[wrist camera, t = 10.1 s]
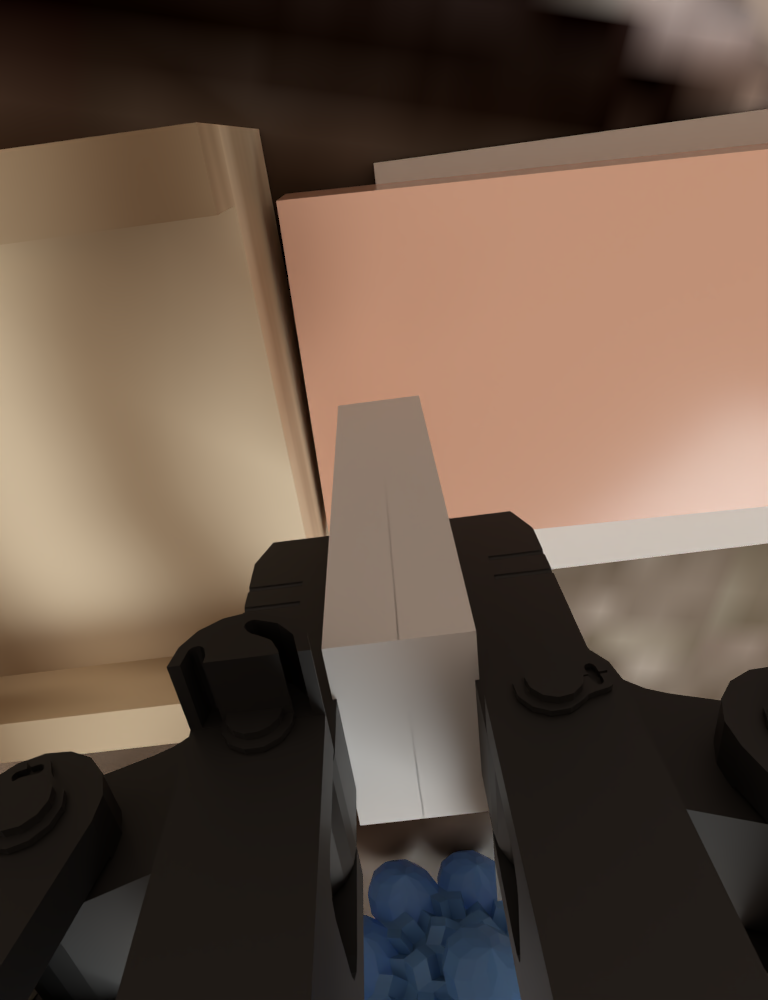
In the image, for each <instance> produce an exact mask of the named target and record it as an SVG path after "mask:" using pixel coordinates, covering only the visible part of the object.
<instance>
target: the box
mask: <svg viewBox="0 0 768 1000" xmlns="http://www.w3.org/2000/svg"><path fill="white" fill-rule="evenodd" d="M323 536H329V531H328V525H327V519H326V512H325V506H324V500H323V493H322V487H321V481H320V475H319V468H318V462H317V456H316V449H315V443H314V437H313V430H312V424H311V418H310V411H309V405H308V399H307V392H306V386H305V380H304V373H303V367H302V361H301V355H300V348H299V342H298V336H297V331H296V326H295V320H294V315H293V309H292V304H291V299H290V293H289V288H288V283H287V277H286V272H285V267H284V261H283V256H282V251H281V245H280V240H279V235H278V229H277V224H276V219H275V213H274V208H273V202H272V197H271V192H270V186H269V181H268V176H267V170H266V165H265V160H264V154H263V149H262V144H261V138H260V133H259V129H254V128H245V127H236V126H226V125H217V124H208V123H199V122H194V123H187V124H180V125H173V126H166V127H159V128H151V129H144V130H137V131H130V132H123V133H116V134H109V135H102V136H94V137H87V138H80V139H73V140H66V141H59V142H52V143H45V144H37V145H30V146H23V147H16V148H9V149H2V150H0V763H7V762H16V761H25V760H29V759H32V758H35V757H37V756H40V755H43V754H45V753H57V752H69V751H72V752H75V753H78V754H86V753H94V752H103V751H112V750H120V749H129V748H138V747H146V746H155V745H164V744H173V743H180V742H182V741H183V740H185V739H186V738H188V737H189V734H190V731H191V730H190V728H189V725H188V723H187V720H186V717H185V715H184V712H183V709H182V707H181V704H180V702H179V699H178V696H177V694H176V691H175V688H174V686H173V683H172V681H171V678H170V675H169V673H168V670H167V666H168V664H169V662H170V661H171V659H172V657H173V656H174V654H175V652H176V651H177V649H178V648H179V647H180V646H181V645H182V644H183V643H184V642H186V641H187V640H188V639H189V638H190V637H191V636H193V635H194V634H195V633H196V632H197V631H199V630H201V629H203V628H205V627H207V626H209V625H211V624H213V623H215V622H217V621H219V620H221V619H223V618H227V617H231V616H235V615H239V614H243V613H245V609H244V607H245V602H246V598H247V594H248V592H249V586H250V582H251V577H252V573H253V569H254V565H255V563H256V562H257V561H258V560H259V559H260V557H261V556H262V555H263V554H264V553H265V552H266V550H267V549H268V548H269V547H270V546H271V545H272V543H274V542H282V541H290V540H298V539H306V538H314V537H323Z"/></svg>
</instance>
